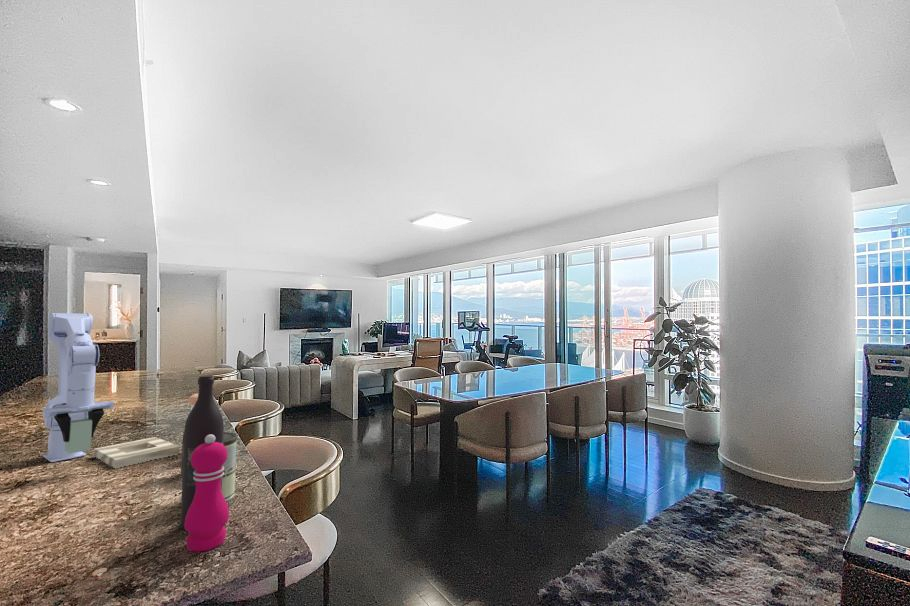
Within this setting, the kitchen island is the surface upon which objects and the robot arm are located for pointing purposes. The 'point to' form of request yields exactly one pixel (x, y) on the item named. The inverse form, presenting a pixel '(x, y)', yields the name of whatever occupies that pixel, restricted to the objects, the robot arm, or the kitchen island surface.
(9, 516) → the kitchen island surface
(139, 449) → the board with square hole
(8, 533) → the kitchen island surface
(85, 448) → the peg
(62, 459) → the robot arm
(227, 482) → the coffee can
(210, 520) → the pepper mill
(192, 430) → the wine bottle
